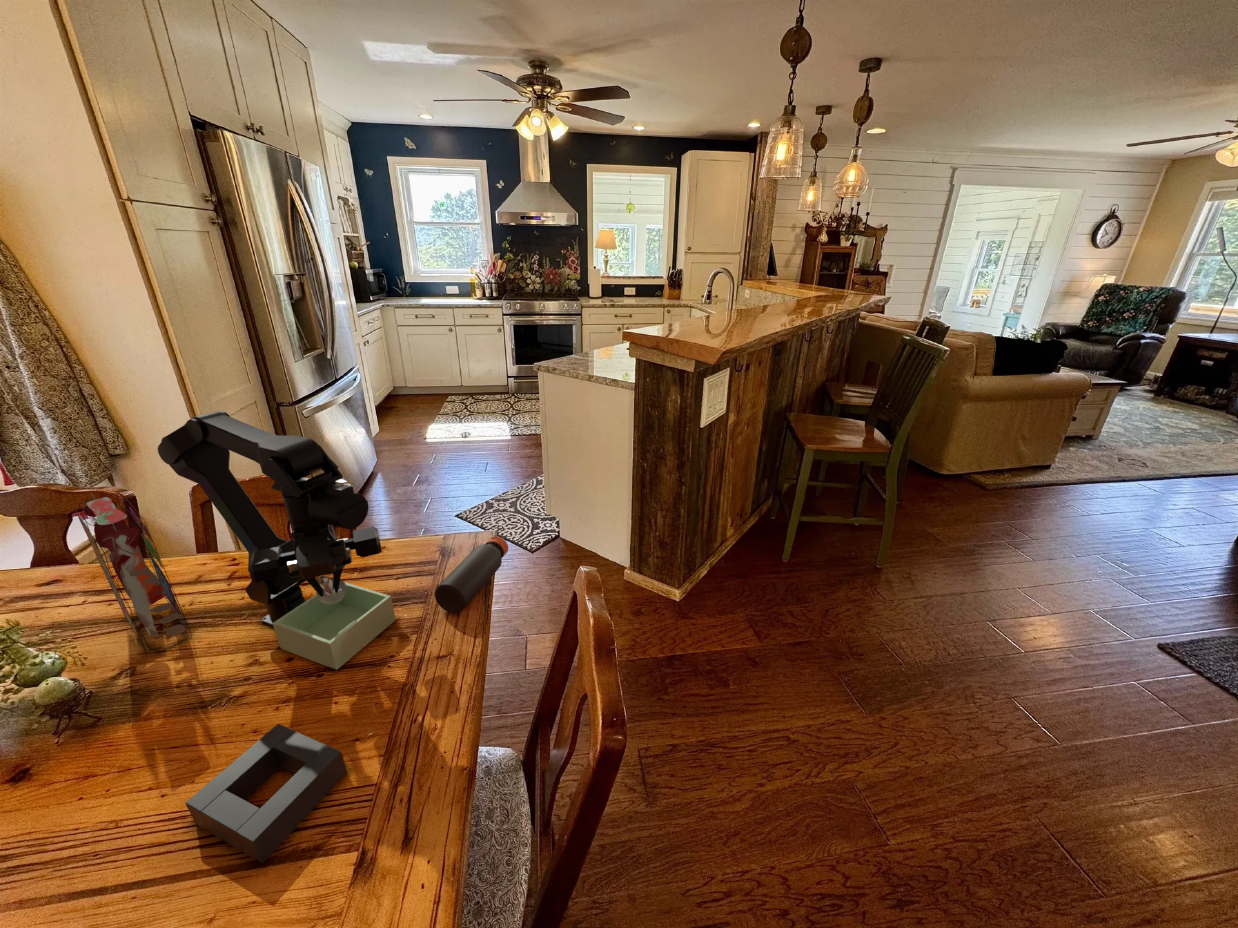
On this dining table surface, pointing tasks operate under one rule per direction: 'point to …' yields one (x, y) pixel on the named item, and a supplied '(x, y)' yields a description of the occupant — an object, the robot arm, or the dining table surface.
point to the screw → (331, 591)
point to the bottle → (470, 575)
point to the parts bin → (335, 626)
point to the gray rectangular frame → (272, 823)
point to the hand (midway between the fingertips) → (329, 593)
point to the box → (131, 565)
